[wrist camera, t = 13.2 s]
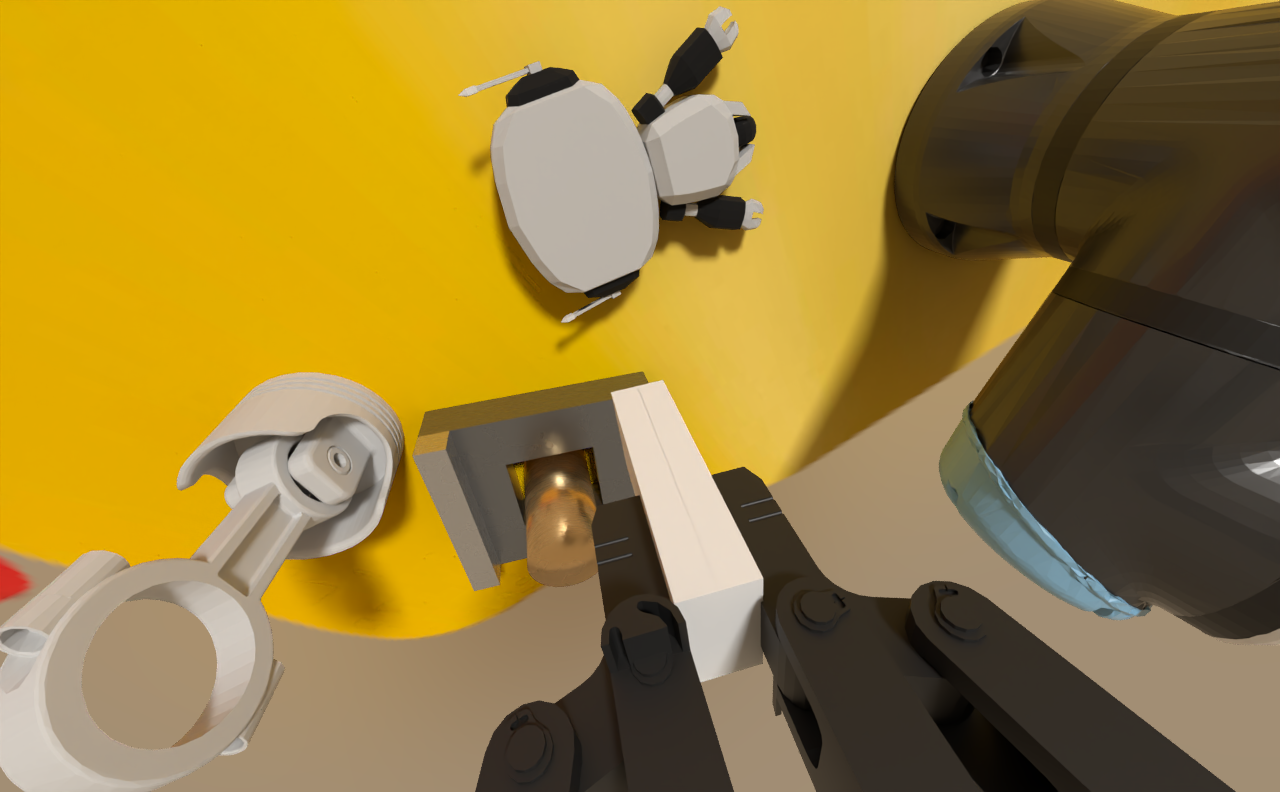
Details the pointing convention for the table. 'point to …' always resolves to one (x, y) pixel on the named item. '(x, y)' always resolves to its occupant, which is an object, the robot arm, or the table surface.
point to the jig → (505, 434)
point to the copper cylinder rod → (559, 519)
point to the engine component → (202, 584)
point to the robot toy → (617, 166)
